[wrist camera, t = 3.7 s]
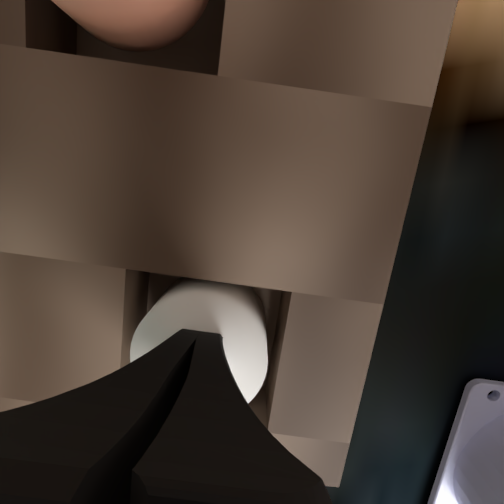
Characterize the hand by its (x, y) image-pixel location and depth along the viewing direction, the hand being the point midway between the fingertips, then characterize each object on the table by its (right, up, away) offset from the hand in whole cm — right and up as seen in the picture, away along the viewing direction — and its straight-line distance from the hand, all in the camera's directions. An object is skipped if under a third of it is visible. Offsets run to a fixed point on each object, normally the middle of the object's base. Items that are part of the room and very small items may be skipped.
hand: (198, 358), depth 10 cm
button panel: (0, +7, +2) cm, 7 cm away
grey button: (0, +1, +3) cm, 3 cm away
